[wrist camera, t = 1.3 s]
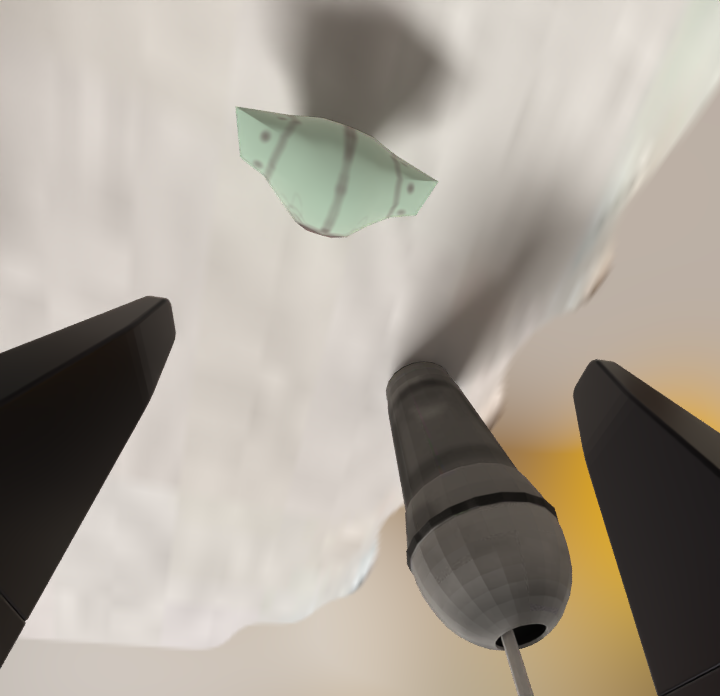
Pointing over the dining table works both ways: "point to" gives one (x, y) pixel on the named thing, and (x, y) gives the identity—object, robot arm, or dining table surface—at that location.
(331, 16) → the dining table surface
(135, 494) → the dining table surface
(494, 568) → the beverage cup
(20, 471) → the robot arm
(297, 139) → the grey-green angular piece
